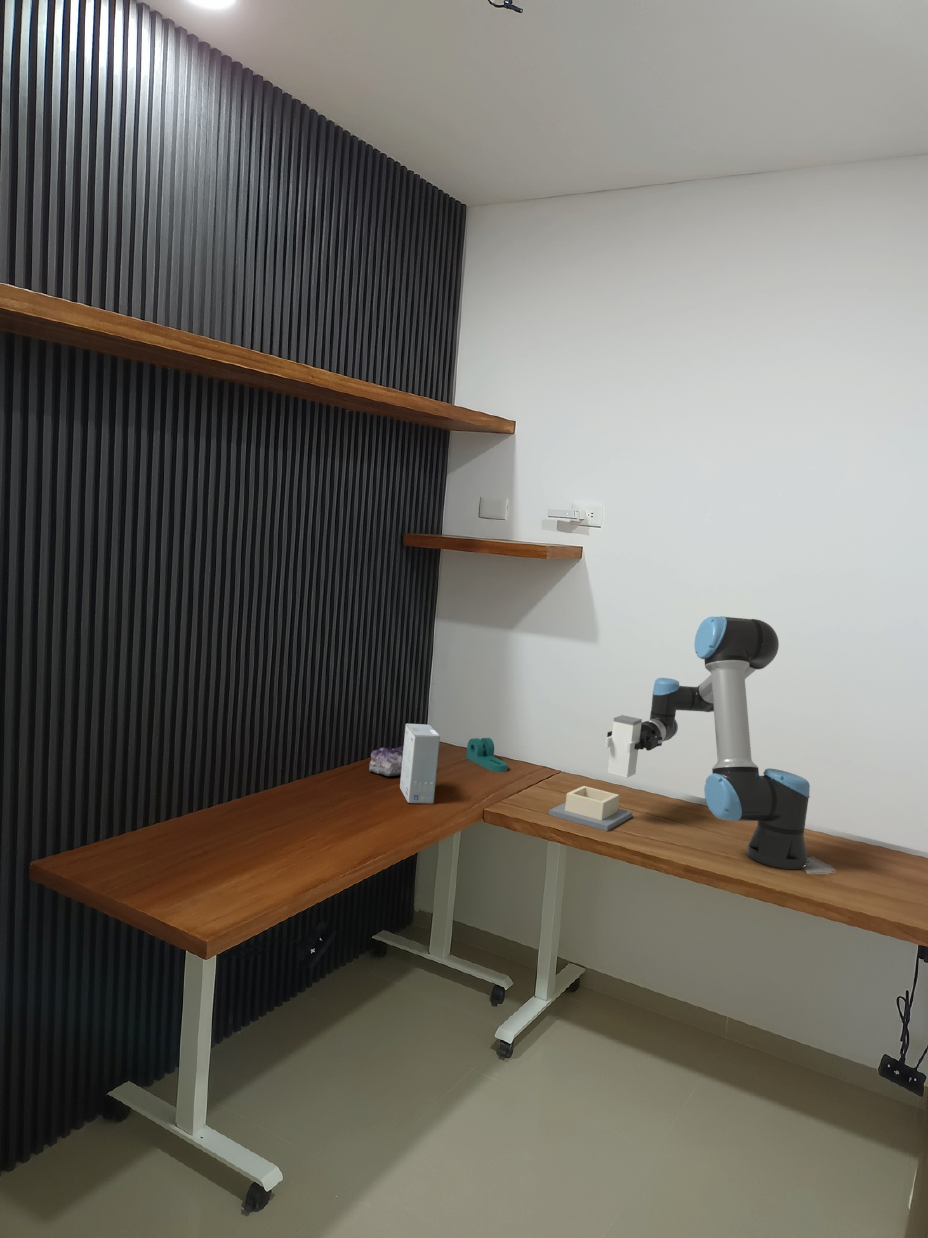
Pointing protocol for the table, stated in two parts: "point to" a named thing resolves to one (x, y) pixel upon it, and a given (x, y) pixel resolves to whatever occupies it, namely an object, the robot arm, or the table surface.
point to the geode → (387, 761)
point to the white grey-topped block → (623, 746)
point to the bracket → (485, 754)
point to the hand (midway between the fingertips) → (617, 745)
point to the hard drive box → (419, 763)
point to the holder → (592, 808)
